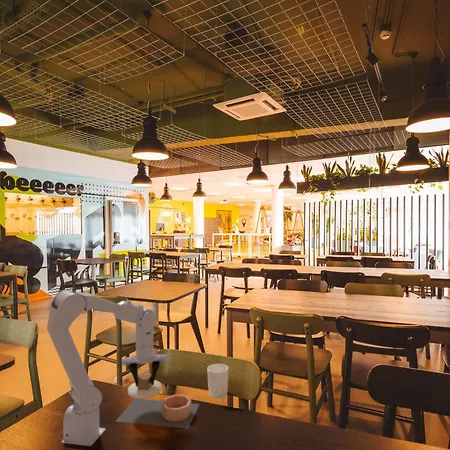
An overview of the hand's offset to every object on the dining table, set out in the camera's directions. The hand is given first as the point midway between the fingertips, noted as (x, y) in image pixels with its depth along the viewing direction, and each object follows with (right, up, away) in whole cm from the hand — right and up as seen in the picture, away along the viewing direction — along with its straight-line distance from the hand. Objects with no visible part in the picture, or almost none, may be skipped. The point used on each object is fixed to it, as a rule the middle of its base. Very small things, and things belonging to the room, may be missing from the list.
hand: (145, 384), depth 110 cm
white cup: (+24, -9, +11) cm, 28 cm away
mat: (+5, -9, -1) cm, 11 cm away
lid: (0, -2, 0) cm, 2 cm away
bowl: (+11, -9, -2) cm, 14 cm away
